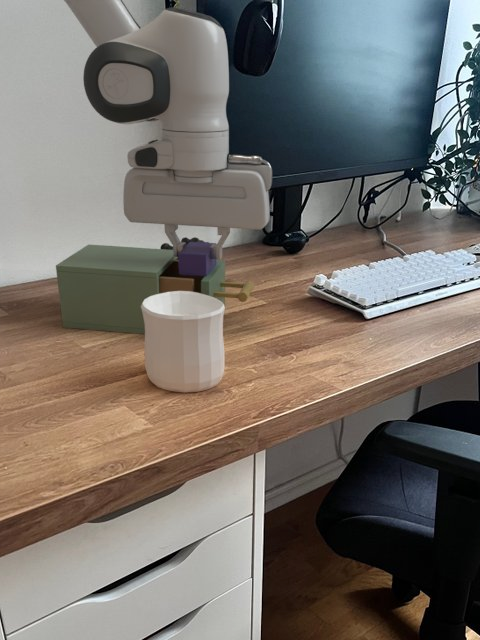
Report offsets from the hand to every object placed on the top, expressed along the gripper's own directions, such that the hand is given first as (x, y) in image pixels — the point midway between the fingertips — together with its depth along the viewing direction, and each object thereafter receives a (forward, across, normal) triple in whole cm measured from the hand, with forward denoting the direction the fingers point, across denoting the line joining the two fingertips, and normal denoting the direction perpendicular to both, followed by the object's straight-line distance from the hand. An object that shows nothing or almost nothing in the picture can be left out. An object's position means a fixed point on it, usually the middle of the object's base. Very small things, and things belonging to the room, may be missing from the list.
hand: (197, 257), depth 99 cm
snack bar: (+2, 0, 0) cm, 2 cm away
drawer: (+9, +1, 0) cm, 9 cm away
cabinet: (+10, +12, 0) cm, 15 cm away
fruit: (+10, +9, -17) cm, 22 cm away
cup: (+10, -3, +20) cm, 23 cm away
